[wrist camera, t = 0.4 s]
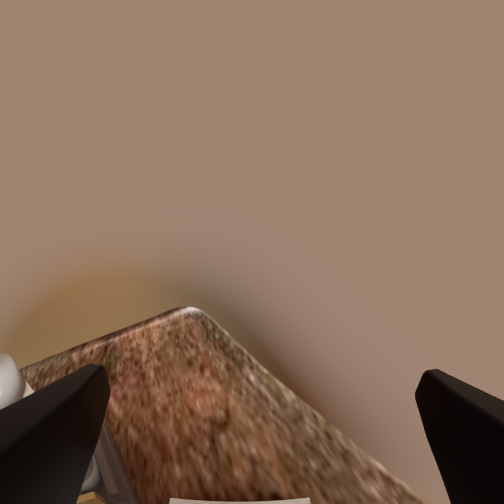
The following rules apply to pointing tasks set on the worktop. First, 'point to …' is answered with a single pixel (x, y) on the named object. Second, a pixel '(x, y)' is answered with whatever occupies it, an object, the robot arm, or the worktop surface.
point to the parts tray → (292, 503)
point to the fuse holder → (109, 475)
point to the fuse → (15, 388)
